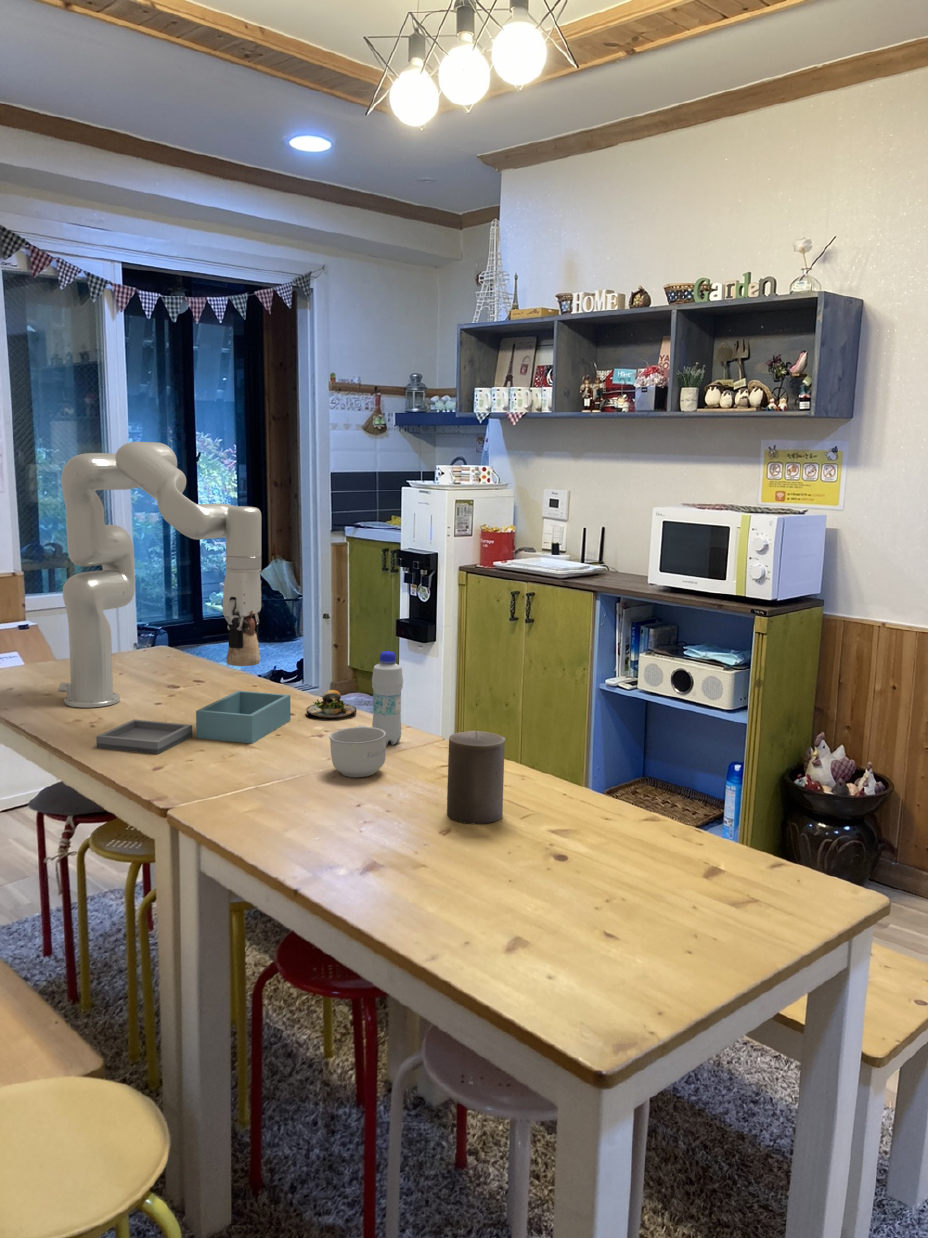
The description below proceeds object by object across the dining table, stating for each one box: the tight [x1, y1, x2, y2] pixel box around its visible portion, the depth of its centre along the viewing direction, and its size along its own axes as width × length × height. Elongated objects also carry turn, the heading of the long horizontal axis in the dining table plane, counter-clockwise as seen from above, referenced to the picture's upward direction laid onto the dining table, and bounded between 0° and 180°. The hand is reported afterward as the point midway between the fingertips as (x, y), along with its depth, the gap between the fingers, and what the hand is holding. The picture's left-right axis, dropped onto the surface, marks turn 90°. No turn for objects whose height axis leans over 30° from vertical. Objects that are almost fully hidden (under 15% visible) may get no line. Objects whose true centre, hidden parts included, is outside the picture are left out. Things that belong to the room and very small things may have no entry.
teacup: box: [328, 724, 387, 778], centre depth 194 cm, size 14×11×8 cm
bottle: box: [371, 650, 404, 746], centre depth 212 cm, size 7×7×20 cm
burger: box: [305, 685, 357, 719], centre depth 235 cm, size 12×12×8 cm
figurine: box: [226, 611, 261, 667], centre depth 218 cm, size 7×7×12 cm
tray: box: [95, 718, 193, 755], centre depth 209 cm, size 14×14×2 cm
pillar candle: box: [446, 730, 506, 825], centre depth 171 cm, size 10×10×15 cm
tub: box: [195, 690, 291, 744], centre depth 221 cm, size 13×20×6 cm, turn 166°
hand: (243, 644), depth 218 cm, fingers closed on figurine, 6 cm apart
